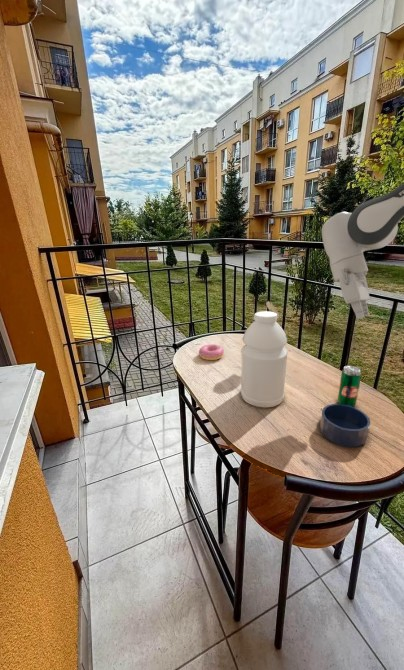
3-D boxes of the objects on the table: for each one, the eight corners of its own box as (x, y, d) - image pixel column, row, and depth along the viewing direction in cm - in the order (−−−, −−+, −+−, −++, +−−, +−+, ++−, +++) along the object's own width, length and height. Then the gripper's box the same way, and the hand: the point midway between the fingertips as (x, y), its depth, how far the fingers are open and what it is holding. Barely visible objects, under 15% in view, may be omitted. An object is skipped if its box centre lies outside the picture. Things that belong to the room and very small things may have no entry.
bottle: (289, 391, 94) (295, 310, 84) (277, 413, 83) (283, 323, 73) (249, 381, 101) (251, 305, 91) (233, 401, 90) (233, 317, 80)
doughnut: (220, 362, 116) (220, 353, 114) (195, 360, 119) (195, 351, 118) (226, 352, 125) (226, 343, 124) (203, 350, 129) (202, 341, 127)
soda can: (339, 407, 84) (344, 372, 80) (335, 398, 89) (340, 364, 85) (357, 409, 83) (364, 373, 79) (353, 399, 88) (359, 365, 83)
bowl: (355, 418, 79) (358, 403, 77) (375, 447, 69) (379, 431, 67) (314, 418, 80) (316, 403, 78) (328, 446, 70) (330, 430, 68)
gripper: (355, 262, 70) (371, 316, 69) (366, 269, 86) (379, 312, 85) (329, 272, 74) (344, 322, 73) (344, 276, 90) (357, 318, 89)
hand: (363, 317), depth 79 cm, fingers open, 8 cm apart
